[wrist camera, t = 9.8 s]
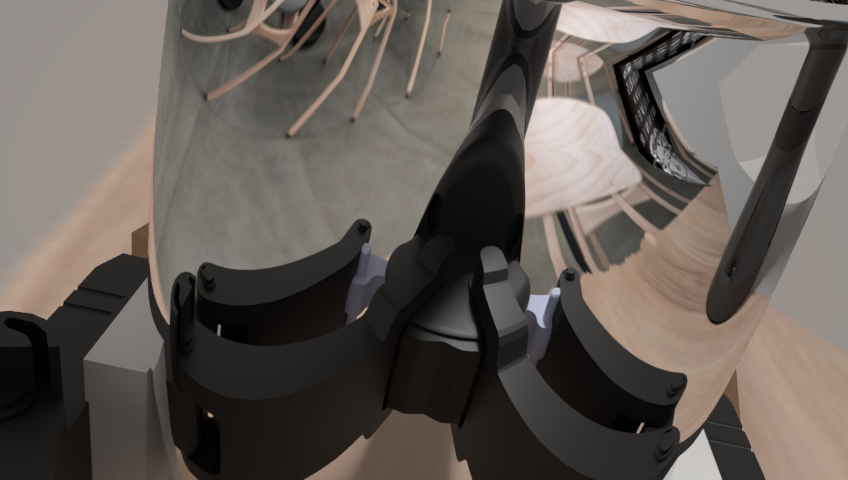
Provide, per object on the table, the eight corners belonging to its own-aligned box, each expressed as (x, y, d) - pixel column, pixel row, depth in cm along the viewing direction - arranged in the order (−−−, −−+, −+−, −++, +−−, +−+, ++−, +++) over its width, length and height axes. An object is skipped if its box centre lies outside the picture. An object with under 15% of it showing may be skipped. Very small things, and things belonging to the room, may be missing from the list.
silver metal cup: (394, 513, 18) (568, -105, 11) (562, 795, 14) (1076, 42, 6) (109, 619, 15) (80, -207, 7) (205, 1057, 10) (404, -33, 2)
